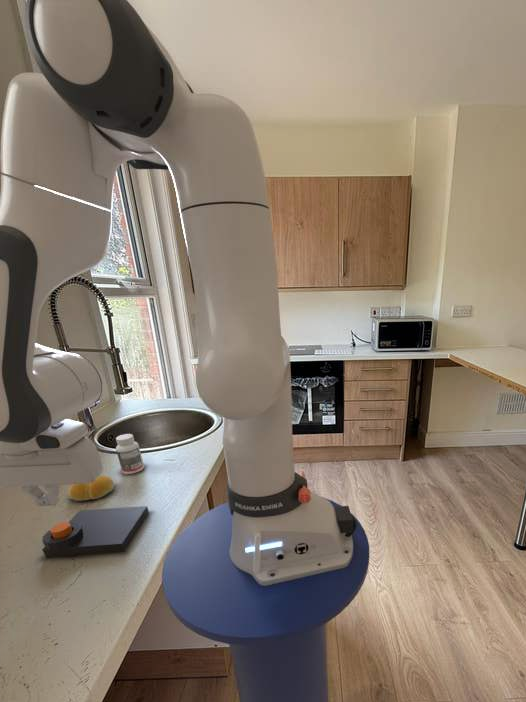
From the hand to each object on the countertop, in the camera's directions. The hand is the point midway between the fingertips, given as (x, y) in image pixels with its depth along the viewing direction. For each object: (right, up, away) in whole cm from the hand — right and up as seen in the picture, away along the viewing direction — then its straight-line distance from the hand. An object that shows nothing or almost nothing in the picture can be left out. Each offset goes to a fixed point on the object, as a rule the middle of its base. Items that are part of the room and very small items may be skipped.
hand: (48, 503), depth 62 cm
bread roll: (-6, -2, +21) cm, 23 cm away
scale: (+5, -7, +7) cm, 12 cm away
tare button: (+1, -6, +3) cm, 7 cm away
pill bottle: (-2, +3, +32) cm, 32 cm away
